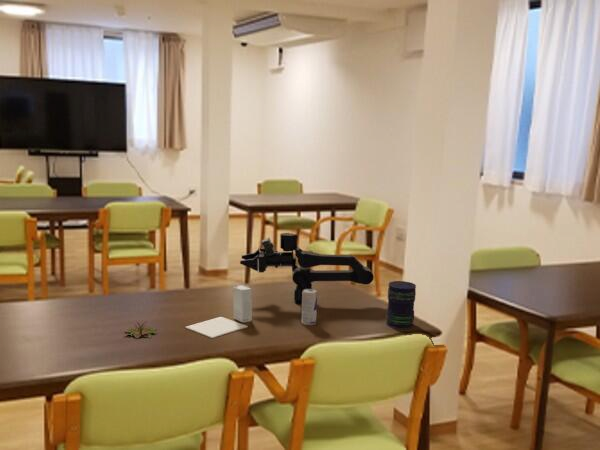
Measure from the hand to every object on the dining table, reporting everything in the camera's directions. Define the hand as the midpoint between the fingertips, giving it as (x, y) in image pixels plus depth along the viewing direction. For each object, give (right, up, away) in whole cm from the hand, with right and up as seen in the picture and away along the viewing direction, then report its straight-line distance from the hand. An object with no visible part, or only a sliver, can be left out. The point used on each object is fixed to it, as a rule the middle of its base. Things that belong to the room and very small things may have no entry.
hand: (240, 259), depth 238 cm
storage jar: (+59, -23, -20) cm, 67 cm away
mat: (-6, -22, -30) cm, 37 cm away
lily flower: (-30, -23, -37) cm, 53 cm away
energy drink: (+26, -22, -22) cm, 41 cm away
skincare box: (+2, -21, -21) cm, 29 cm away
